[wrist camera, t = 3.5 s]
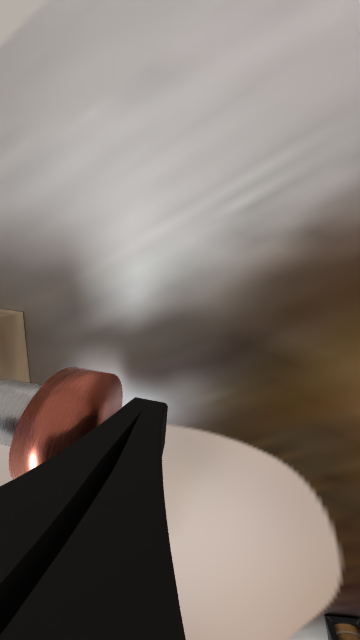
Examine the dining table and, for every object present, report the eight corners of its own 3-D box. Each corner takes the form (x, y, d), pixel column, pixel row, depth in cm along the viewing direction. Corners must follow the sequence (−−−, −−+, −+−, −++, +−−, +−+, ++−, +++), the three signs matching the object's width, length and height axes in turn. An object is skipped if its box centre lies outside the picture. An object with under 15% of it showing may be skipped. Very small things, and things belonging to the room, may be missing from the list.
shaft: (-26, 401, 11) (-150, 469, 7) (-39, 330, 10) (-189, 367, 6) (121, 433, 10) (63, 534, 6) (123, 357, 9) (55, 421, 5)
